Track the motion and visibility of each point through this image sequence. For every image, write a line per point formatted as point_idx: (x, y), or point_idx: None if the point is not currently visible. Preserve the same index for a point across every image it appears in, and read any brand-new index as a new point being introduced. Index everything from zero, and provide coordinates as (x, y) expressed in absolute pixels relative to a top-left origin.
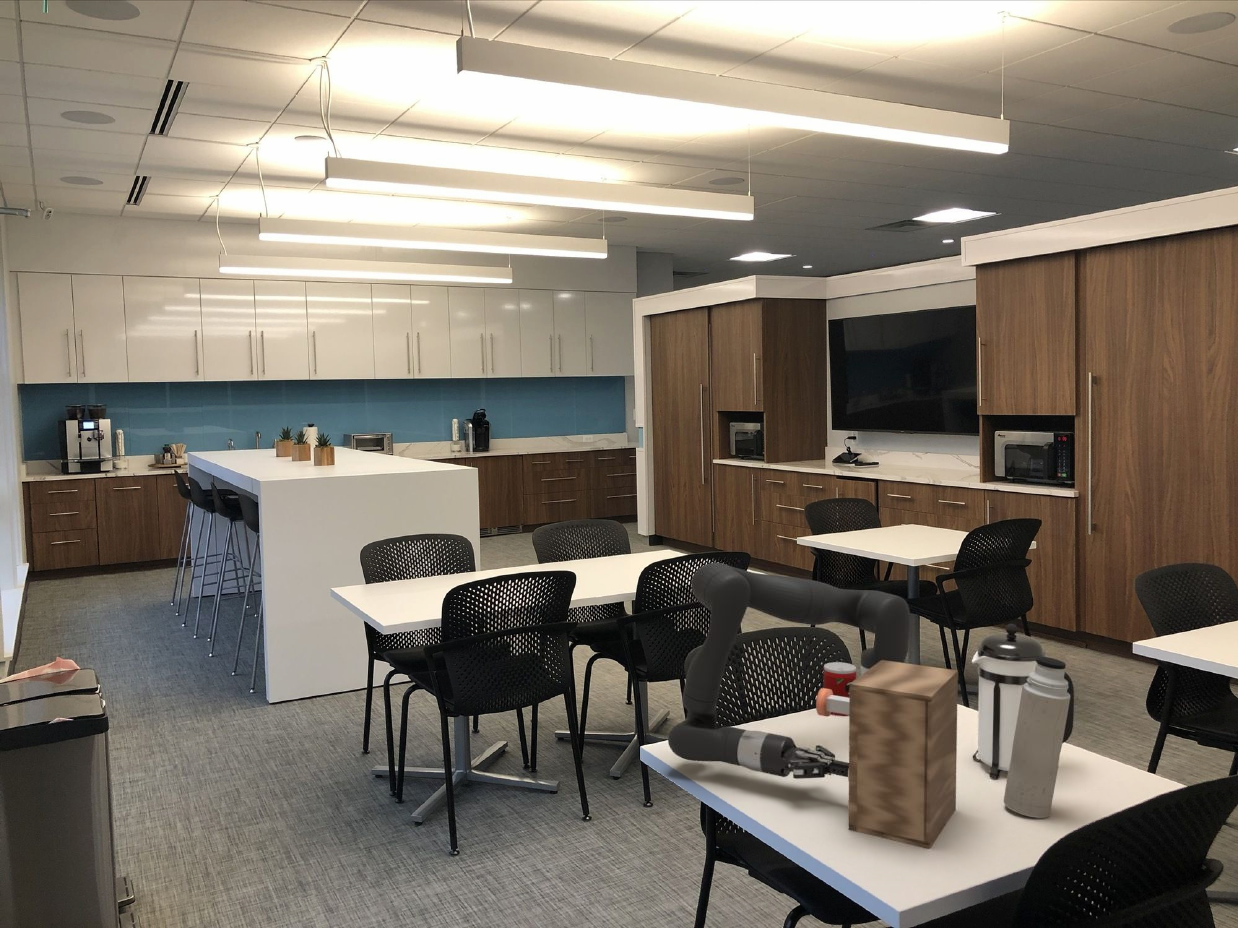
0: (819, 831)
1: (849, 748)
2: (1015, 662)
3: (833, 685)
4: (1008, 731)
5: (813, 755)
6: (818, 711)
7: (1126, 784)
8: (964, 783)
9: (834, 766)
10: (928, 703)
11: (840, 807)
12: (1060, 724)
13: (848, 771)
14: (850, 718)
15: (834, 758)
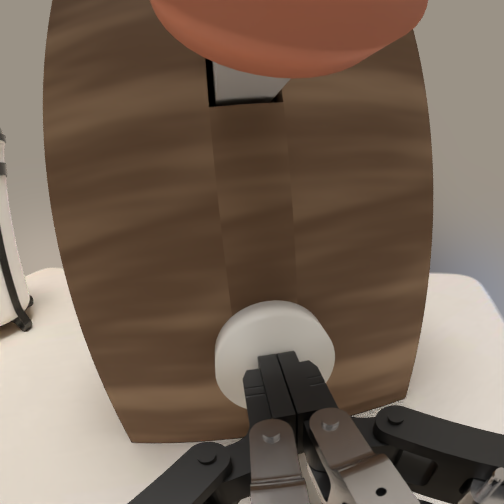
0: (473, 415)
1: (431, 169)
2: (1, 142)
3: None
4: (11, 250)
5: (369, 495)
6: (416, 13)
7: (45, 276)
8: (45, 347)
9: (333, 400)
10: None
11: (307, 484)
12: None
13: (333, 346)
14: (418, 68)
15: (259, 425)
